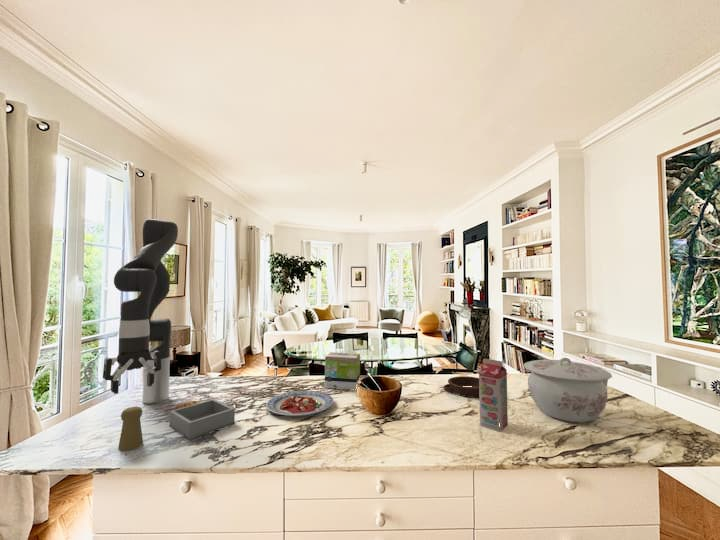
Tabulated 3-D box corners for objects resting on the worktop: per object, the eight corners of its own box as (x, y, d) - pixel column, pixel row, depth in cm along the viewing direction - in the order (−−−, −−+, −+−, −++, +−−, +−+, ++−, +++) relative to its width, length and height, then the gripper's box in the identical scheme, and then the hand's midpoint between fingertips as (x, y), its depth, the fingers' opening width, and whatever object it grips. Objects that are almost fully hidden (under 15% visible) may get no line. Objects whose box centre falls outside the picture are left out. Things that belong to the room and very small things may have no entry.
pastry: (171, 419, 115) (171, 408, 115) (167, 414, 120) (167, 403, 120) (199, 412, 121) (200, 402, 121) (195, 407, 126) (195, 397, 126)
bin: (169, 426, 109) (169, 411, 109) (213, 412, 121) (213, 398, 121) (188, 439, 100) (189, 423, 100) (234, 423, 111) (234, 408, 111)
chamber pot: (523, 421, 112) (522, 361, 113) (524, 397, 137) (523, 347, 138) (625, 439, 99) (623, 371, 100) (606, 409, 124) (605, 354, 125)
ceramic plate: (251, 414, 119) (251, 406, 120) (291, 392, 143) (291, 386, 144) (312, 426, 110) (312, 417, 110) (344, 400, 134) (344, 393, 134)
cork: (148, 442, 98) (149, 405, 98) (127, 452, 92) (129, 413, 93) (133, 439, 100) (134, 403, 100) (113, 449, 94) (114, 410, 94)
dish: (503, 399, 135) (502, 387, 135) (450, 400, 134) (450, 388, 134) (485, 386, 152) (484, 375, 152) (438, 387, 151) (438, 376, 151)
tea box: (324, 389, 148) (324, 356, 149) (329, 382, 158) (330, 351, 158) (356, 390, 145) (356, 357, 146) (360, 384, 155) (360, 352, 156)
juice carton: (488, 419, 114) (487, 356, 115) (507, 425, 109) (506, 359, 110) (479, 425, 109) (478, 359, 110) (499, 432, 105) (498, 363, 106)
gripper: (156, 331, 105) (155, 381, 104) (101, 336, 94) (99, 393, 93) (165, 333, 101) (164, 386, 100) (108, 339, 90) (107, 398, 89)
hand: (132, 389), depth 97 cm, fingers open, 8 cm apart
